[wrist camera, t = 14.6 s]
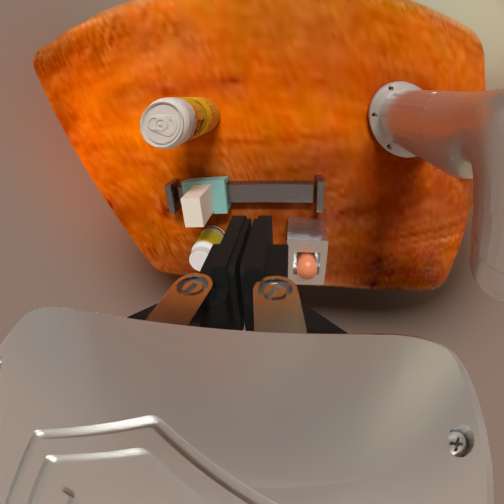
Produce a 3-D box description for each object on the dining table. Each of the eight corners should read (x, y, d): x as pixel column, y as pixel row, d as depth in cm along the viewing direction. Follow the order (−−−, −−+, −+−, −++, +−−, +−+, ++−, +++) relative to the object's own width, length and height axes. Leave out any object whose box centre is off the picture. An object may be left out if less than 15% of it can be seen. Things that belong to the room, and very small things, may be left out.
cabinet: (323, 217, 45) (328, 240, 38) (320, 258, 49) (323, 285, 42) (287, 217, 46) (287, 240, 39) (287, 258, 50) (286, 285, 43)
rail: (321, 175, 41) (324, 181, 38) (320, 204, 44) (323, 212, 41) (173, 179, 45) (164, 185, 42) (177, 205, 47) (169, 213, 44)
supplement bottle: (200, 224, 49) (184, 248, 42) (225, 224, 48) (213, 249, 41) (203, 247, 51) (189, 273, 44) (227, 248, 51) (216, 274, 43)
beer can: (216, 136, 40) (181, 155, 27) (181, 129, 40) (134, 146, 27) (224, 100, 37) (191, 101, 24) (188, 94, 37) (141, 95, 24)
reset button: (316, 248, 41) (318, 262, 38) (314, 264, 43) (316, 279, 40) (296, 248, 42) (297, 262, 38) (296, 264, 43) (296, 279, 40)
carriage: (228, 174, 43) (213, 193, 35) (231, 206, 46) (218, 230, 38) (188, 176, 44) (166, 195, 36) (192, 207, 47) (173, 231, 39)
